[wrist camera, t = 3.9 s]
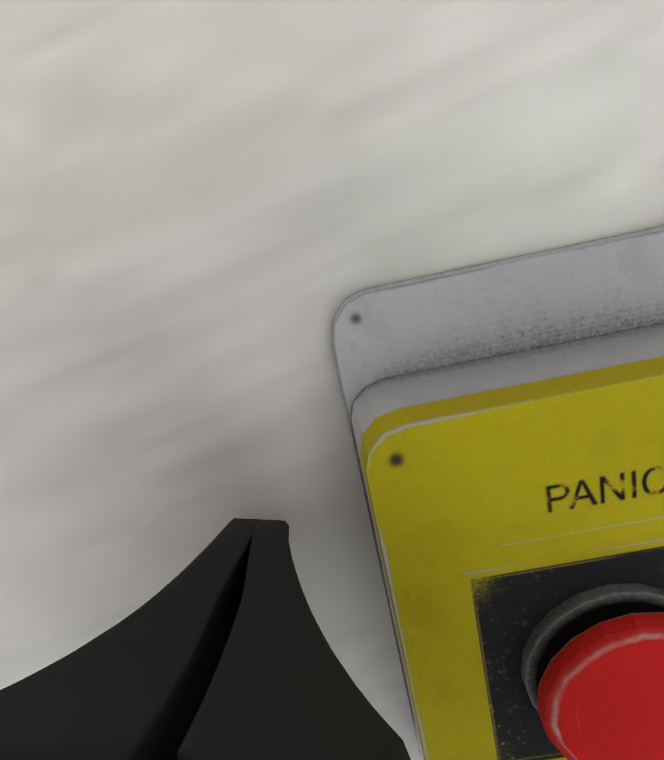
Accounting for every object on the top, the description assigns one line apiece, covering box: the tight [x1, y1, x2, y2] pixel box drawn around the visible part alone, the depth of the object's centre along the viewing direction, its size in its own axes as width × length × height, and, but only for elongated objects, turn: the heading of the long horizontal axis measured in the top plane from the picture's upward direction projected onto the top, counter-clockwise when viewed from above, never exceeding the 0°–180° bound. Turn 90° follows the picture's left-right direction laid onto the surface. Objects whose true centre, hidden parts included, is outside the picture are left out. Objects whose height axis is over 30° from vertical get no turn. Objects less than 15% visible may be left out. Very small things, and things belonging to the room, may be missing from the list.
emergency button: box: [333, 226, 664, 760], centre depth 11 cm, size 9×4×15 cm
